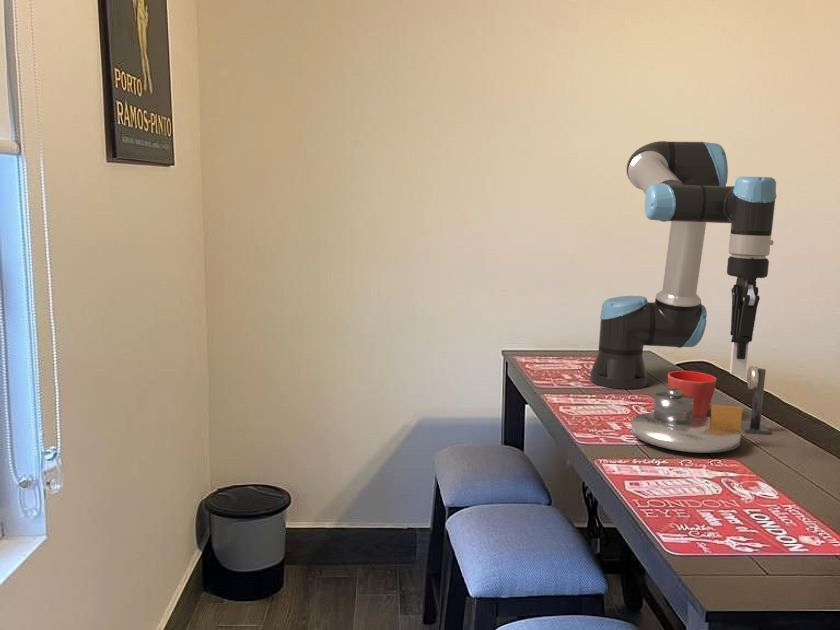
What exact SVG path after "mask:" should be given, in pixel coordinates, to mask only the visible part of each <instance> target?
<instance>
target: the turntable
mask: <svg viewBox="0 0 840 630" xmlns="http://www.w3.org/2000/svg"><path fill="white" fill-rule="evenodd" d="M743 410H744V409H743V407H742V406H737V405H722V404H711V408H710V416H707V415H706V416H703V415H697V414H692V422H691V423H689V424H683V425H676V424H668V423H663V422H660V421H657V420H655V419H654V417H653V416H654V411H652V412H645V413H641V414H637V415H636V416H634V417H633V418H632V420H631V429H630V430H631V431H630V432H631V433H632V435H633V436H635V438H637V439H638V440H641V441H642V442H645V443H647V444H650V445H653V446H656V447H659V448H663V449H668V450H672V451H673V450H674V451H680V452H684V453H685V452H686V453H687V452H688V453H698V454H701V453H702V454H706V453H707V454H709V453H711V454H713V453H714V454H716V453H723V452H729V451H732V450H735V449H737V448H738V447H739V446H740V445H741V437H742V432H741V430H742V428H741V423H742V417H743Z"/></svg>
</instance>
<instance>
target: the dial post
mask: <svg viewBox="0 0 840 630" xmlns="http://www.w3.org/2000/svg"><path fill="white" fill-rule="evenodd" d="M766 373H767V372H766V368H762V367H761V368H758V367H757V366H755V365H754V366H749V368H748V370H747V374H746V375H747V376H746V377H747V379H746V380H747V381H746V382H747V383H746V384H747V388H748V389H749V390H753V392H752V393H753V395H752V405H751V413H750V414H751V416H750V422H749V423H748V422H747V423H745V422H741V430H743V432H744V433H745V434H756V435H768V436H769V435H770V430H769V429H768V428H767V426H766V425H765V424H761V420H762V411H763V402H764V401H763V400H764V391H765V380H766Z"/></svg>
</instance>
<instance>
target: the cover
mask: <svg viewBox="0 0 840 630" xmlns="http://www.w3.org/2000/svg"><path fill="white" fill-rule="evenodd" d="M693 401H694V398H693V397H691V396H689V395H686V394H682V390H680V389H674V388H670V389H669V388H668V389H667V391H663V392H657V393H655V395H654V405H653V412H654V416H653V417H654V419H655V420H657V421H660V422H663V423H668V424H676V425H683V424H689V423H691V422H692V412H693Z"/></svg>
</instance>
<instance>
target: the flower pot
mask: <svg viewBox="0 0 840 630" xmlns="http://www.w3.org/2000/svg"><path fill="white" fill-rule="evenodd" d="M717 380H718V378H717V377H715V376H714V375H710V374H709V373H703V372H699V371H692V370H674V371H670V372H668V373H667V383H668V389H670V388H674V389H680V390H682V394H686V395H689V396H691V397H693V398H694V401H693V412H692V414H697V415H703V416H707V415H708V411H709V408H710V405H711V402H712V398H713V396H714V393H715V389H716V386H717Z"/></svg>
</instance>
